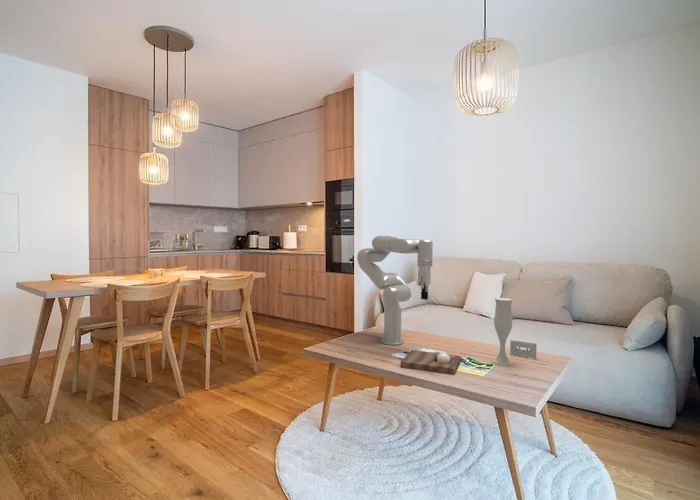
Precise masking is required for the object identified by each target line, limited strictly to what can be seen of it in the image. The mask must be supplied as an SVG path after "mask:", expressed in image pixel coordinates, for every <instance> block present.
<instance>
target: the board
mask: <svg viewBox="0 0 700 500" xmlns="http://www.w3.org/2000/svg"><path fill="white" fill-rule="evenodd" d="M439 354H441V352H440V353H439V352H430V351H422V350H415V349H414V350H413V349H412V350H411V351H409V353H407V355H405V357H404V358H402V360H401V361H400V368H406V369H412V370H419V371H426V372H433V373H442V374H448V375H453V376H455V375H456V374H457V371H458V369H459V367H460V364H461V363H462V356H461V355H455V354H448V355H449V357H450V363H439V362H437V357H438V355H439Z"/></svg>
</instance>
